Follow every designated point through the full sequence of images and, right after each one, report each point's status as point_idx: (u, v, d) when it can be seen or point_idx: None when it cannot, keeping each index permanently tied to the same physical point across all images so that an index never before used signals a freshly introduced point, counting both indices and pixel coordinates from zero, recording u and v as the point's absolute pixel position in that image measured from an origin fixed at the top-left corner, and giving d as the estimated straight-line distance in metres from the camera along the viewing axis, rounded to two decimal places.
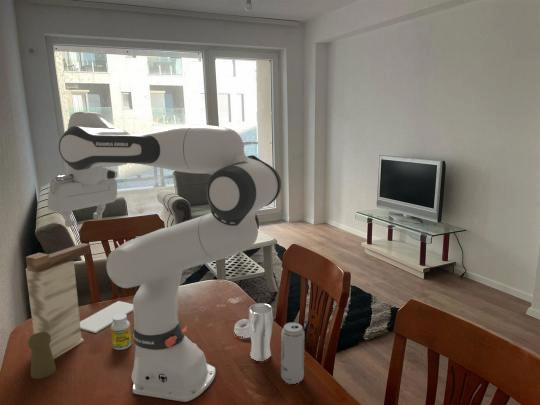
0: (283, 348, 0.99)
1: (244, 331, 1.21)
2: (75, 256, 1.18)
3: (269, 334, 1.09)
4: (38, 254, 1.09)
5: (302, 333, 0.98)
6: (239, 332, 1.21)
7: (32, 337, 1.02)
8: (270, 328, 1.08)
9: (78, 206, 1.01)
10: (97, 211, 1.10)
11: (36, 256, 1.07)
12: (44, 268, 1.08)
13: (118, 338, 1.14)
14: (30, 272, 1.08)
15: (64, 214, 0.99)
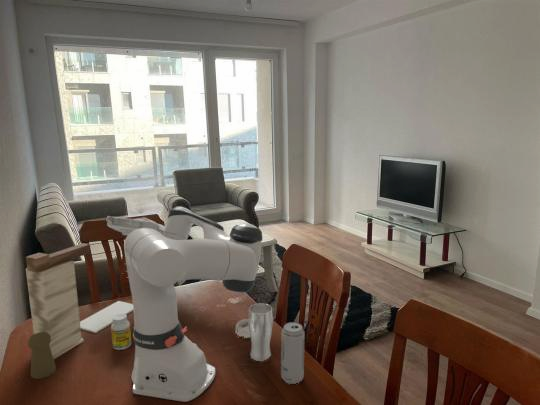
0: (283, 348, 0.99)
1: (245, 331, 1.21)
2: (75, 256, 1.18)
3: (269, 334, 1.09)
4: (38, 254, 1.09)
5: (302, 333, 0.98)
6: (240, 332, 1.21)
7: (32, 337, 1.02)
8: (270, 328, 1.08)
9: (135, 229, 1.37)
10: None
11: (36, 256, 1.07)
12: (44, 268, 1.08)
13: (118, 338, 1.14)
14: (30, 272, 1.08)
15: (139, 224, 1.34)
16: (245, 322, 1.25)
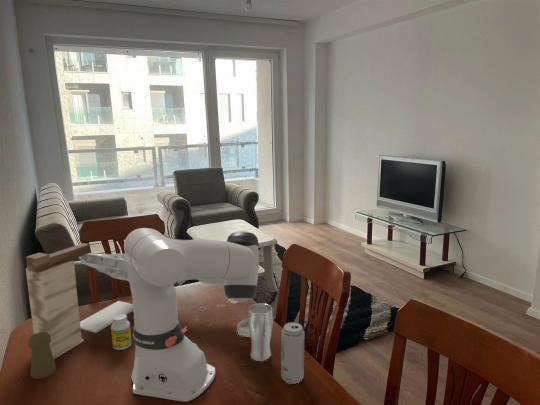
0: (283, 348, 0.99)
1: (247, 331, 1.21)
2: (75, 256, 1.18)
3: (269, 334, 1.09)
4: (38, 254, 1.09)
5: (302, 333, 0.98)
6: (242, 332, 1.22)
7: (32, 337, 1.02)
8: (270, 328, 1.08)
9: (110, 268, 1.29)
10: None
11: (36, 256, 1.07)
12: (44, 268, 1.08)
13: (118, 338, 1.14)
14: (30, 272, 1.08)
15: (113, 263, 1.26)
16: (246, 322, 1.26)
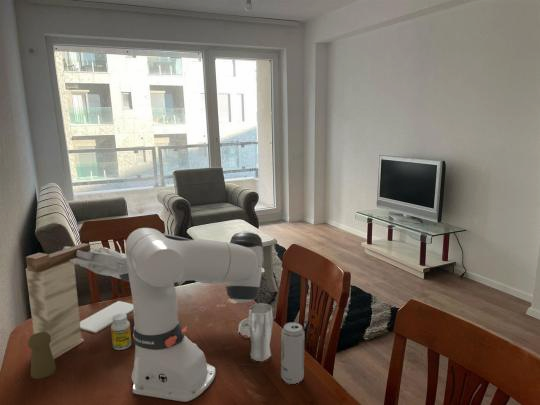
0: (283, 348, 0.99)
1: (248, 330, 1.22)
2: (75, 256, 1.18)
3: (269, 334, 1.09)
4: (38, 254, 1.09)
5: (302, 333, 0.98)
6: (243, 331, 1.22)
7: (32, 337, 1.02)
8: (270, 328, 1.08)
9: (91, 262, 1.21)
10: None
11: (36, 256, 1.07)
12: (44, 268, 1.08)
13: (118, 338, 1.14)
14: (30, 272, 1.08)
15: (89, 256, 1.19)
16: None
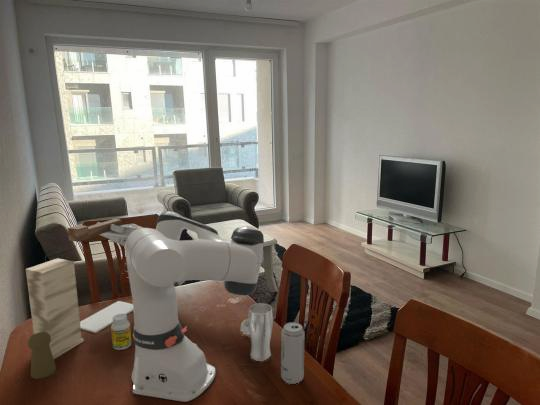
0: (283, 348, 0.99)
1: None
2: (109, 229, 1.29)
3: (269, 334, 1.09)
4: (78, 226, 1.20)
5: (302, 333, 0.98)
6: (246, 331, 1.22)
7: (32, 337, 1.02)
8: (270, 328, 1.08)
9: (123, 236, 1.32)
10: None
11: (77, 227, 1.19)
12: (84, 238, 1.19)
13: (118, 338, 1.14)
14: (30, 272, 1.08)
15: (121, 230, 1.31)
16: None
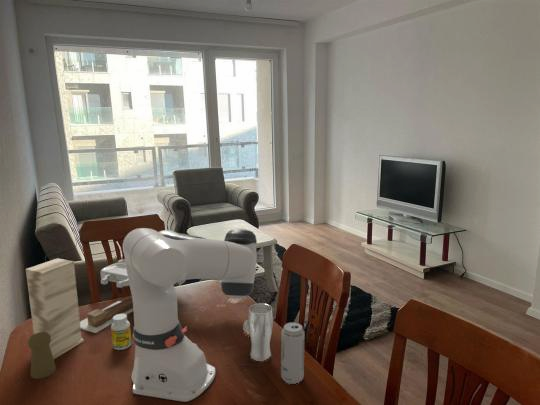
0: (283, 348, 0.99)
1: None
2: (126, 310, 1.38)
3: (269, 334, 1.09)
4: (97, 311, 1.29)
5: (302, 333, 0.98)
6: (248, 330, 1.22)
7: (32, 337, 1.02)
8: (270, 328, 1.08)
9: None
10: None
11: (95, 313, 1.28)
12: (101, 323, 1.28)
13: (118, 338, 1.14)
14: (30, 272, 1.08)
15: None
16: None
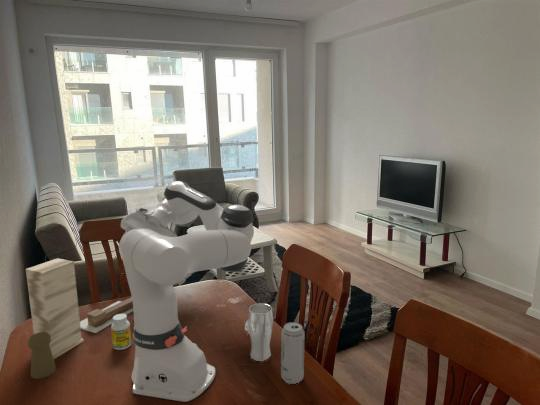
0: (283, 348, 0.98)
1: None
2: (126, 310, 1.38)
3: (269, 334, 1.09)
4: (97, 311, 1.29)
5: (302, 333, 0.98)
6: None
7: (32, 337, 1.02)
8: (270, 328, 1.08)
9: None
10: (127, 233, 1.44)
11: (95, 313, 1.28)
12: (101, 323, 1.28)
13: (118, 338, 1.14)
14: (30, 272, 1.08)
15: None
16: None
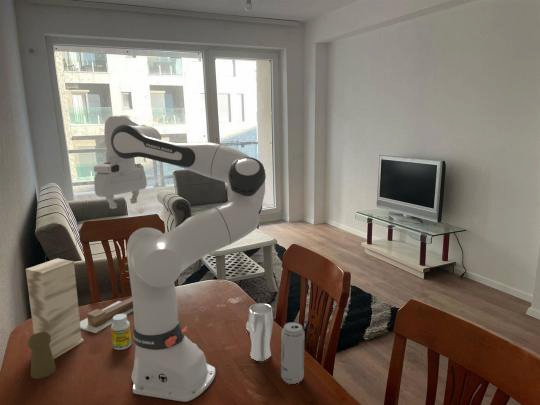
0: (283, 348, 0.99)
1: None
2: (126, 310, 1.38)
3: (269, 334, 1.09)
4: (97, 311, 1.29)
5: (302, 333, 0.98)
6: None
7: (32, 337, 1.02)
8: (270, 328, 1.08)
9: None
10: None
11: (95, 313, 1.28)
12: (101, 323, 1.28)
13: (118, 338, 1.14)
14: (30, 272, 1.08)
15: None
16: None
